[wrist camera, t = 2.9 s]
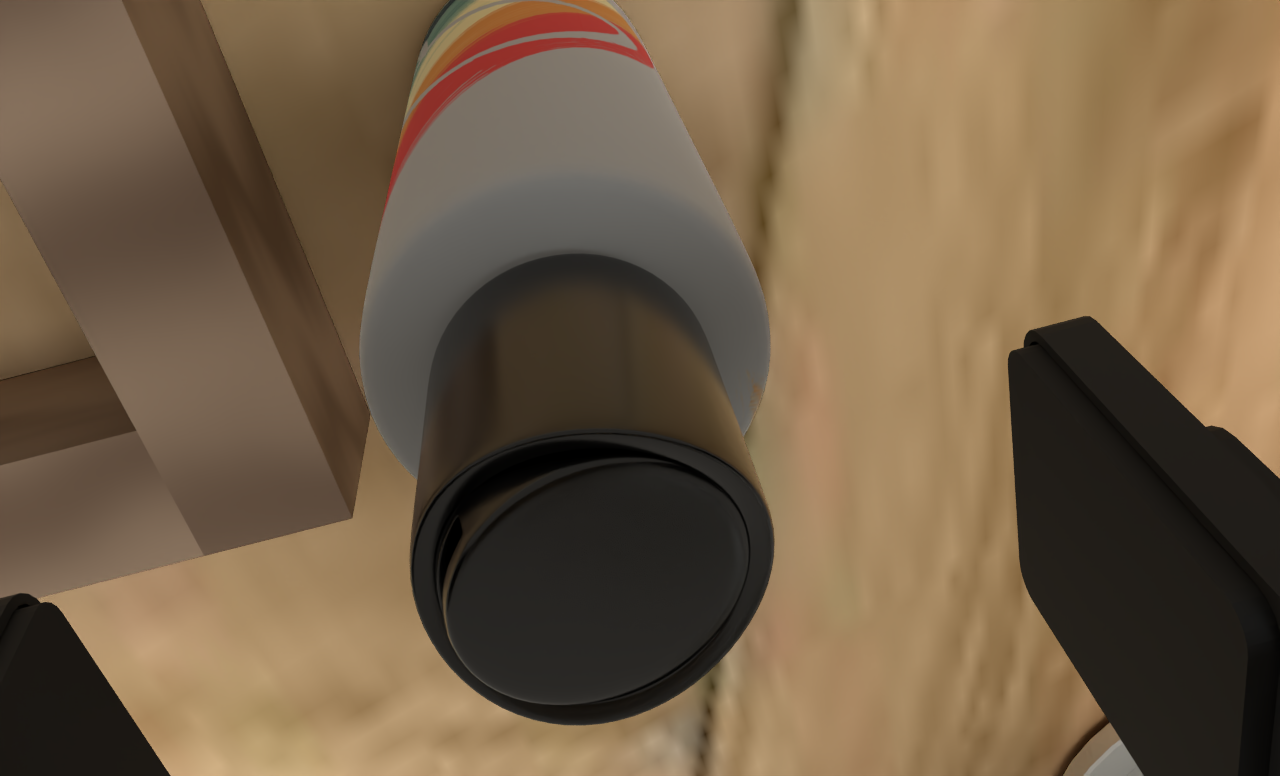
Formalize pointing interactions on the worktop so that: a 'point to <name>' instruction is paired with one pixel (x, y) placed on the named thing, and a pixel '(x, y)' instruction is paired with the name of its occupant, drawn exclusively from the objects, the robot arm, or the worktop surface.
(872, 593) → the worktop surface
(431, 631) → the lotion bottle
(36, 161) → the holder
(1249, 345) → the worktop surface
